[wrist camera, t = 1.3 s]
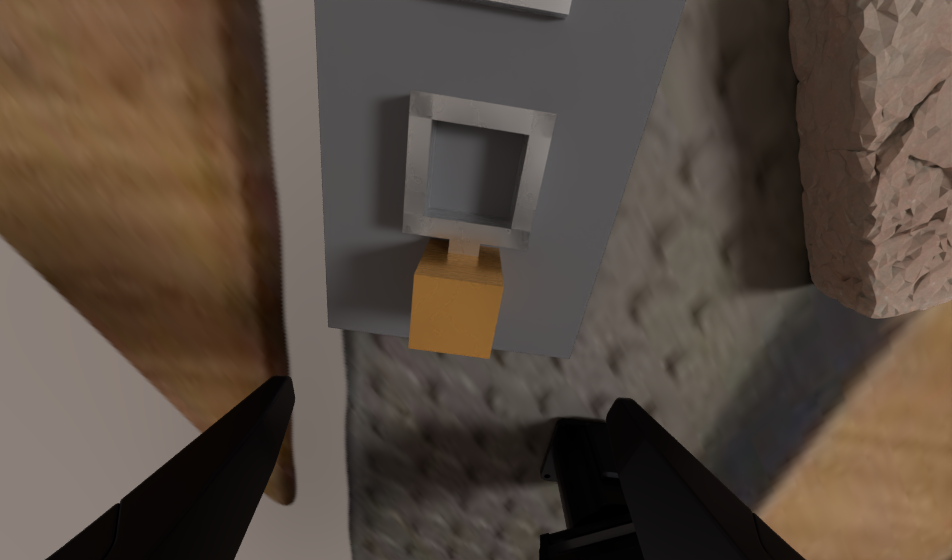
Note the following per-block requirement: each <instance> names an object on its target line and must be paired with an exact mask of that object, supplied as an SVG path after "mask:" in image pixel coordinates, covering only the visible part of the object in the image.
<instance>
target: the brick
mask: <svg viewBox="0 0 952 560" xmlns="http://www.w3.org/2000/svg"><path fill="white" fill-rule="evenodd" d="M788 5H789V11H790V25H789V43H790V51H791V59H792V65H793V70H794V72H795V74H796V77H797V79H798V80H799V81H800V82H799V83H798V84H797V98H796V120H797V123H798V128H797V129H798V133H799V136H800V150H799V154H798V158H799V164H800V172H801V183H802V186H803V188H804V191H803V193H802V208H803V214H804V229H805V244H806V248H807V251H808V259H809V263H810V269H809V271H810V274H811V279H812V281H813V283H814V284H815V285H816V287H817V288H818V289H819V290H820V291H821V292H823V293H825V294H826V295H828V296H829V297H830V298H834V299H837V300H838V301H839V302H840V303H841V304H843V305H844V306H845V307H848V308H852V309H854V310H855V311H856V312H858V313H860V314H863V315H865V316H867V317H870V318H887V317H893V316H897V315H901V314H905V313H909V312H912V311H915V310H922V311H923V310H925V309H927V308H929V307H932V306H935V305H938V304H941V303H945V302H948V301H950V300H952V0H789V1H788Z"/></svg>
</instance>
